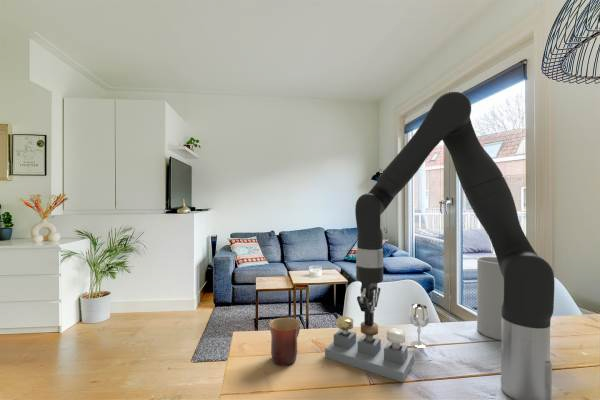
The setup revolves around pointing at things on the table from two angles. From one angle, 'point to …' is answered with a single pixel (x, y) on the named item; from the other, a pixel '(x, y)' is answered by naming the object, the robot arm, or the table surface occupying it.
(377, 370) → the grey key socket base
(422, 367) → the table surface
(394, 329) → the cream key
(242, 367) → the table surface
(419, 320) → the wineglass
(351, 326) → the gold faceted knob
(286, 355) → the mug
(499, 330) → the cylinder vase
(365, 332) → the walnut key
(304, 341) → the table surface
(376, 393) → the table surface
